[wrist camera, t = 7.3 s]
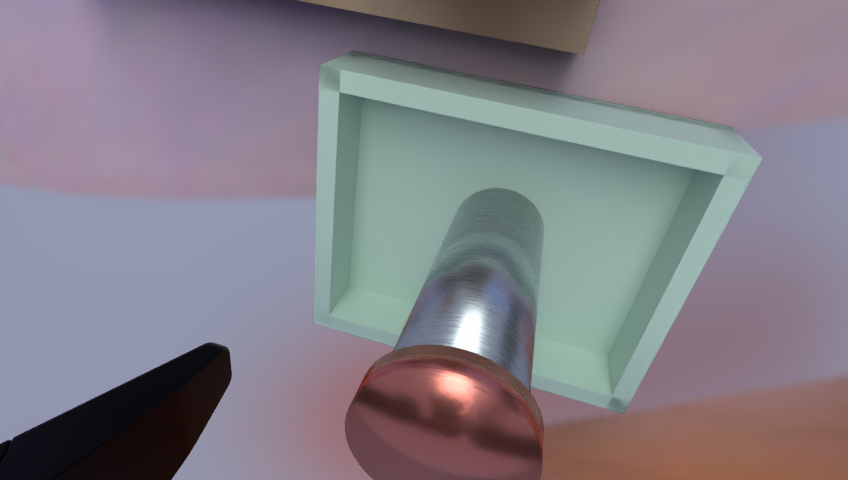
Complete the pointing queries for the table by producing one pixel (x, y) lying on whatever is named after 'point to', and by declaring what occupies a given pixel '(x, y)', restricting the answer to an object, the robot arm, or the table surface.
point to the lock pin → (462, 358)
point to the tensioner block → (492, 18)
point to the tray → (540, 183)
